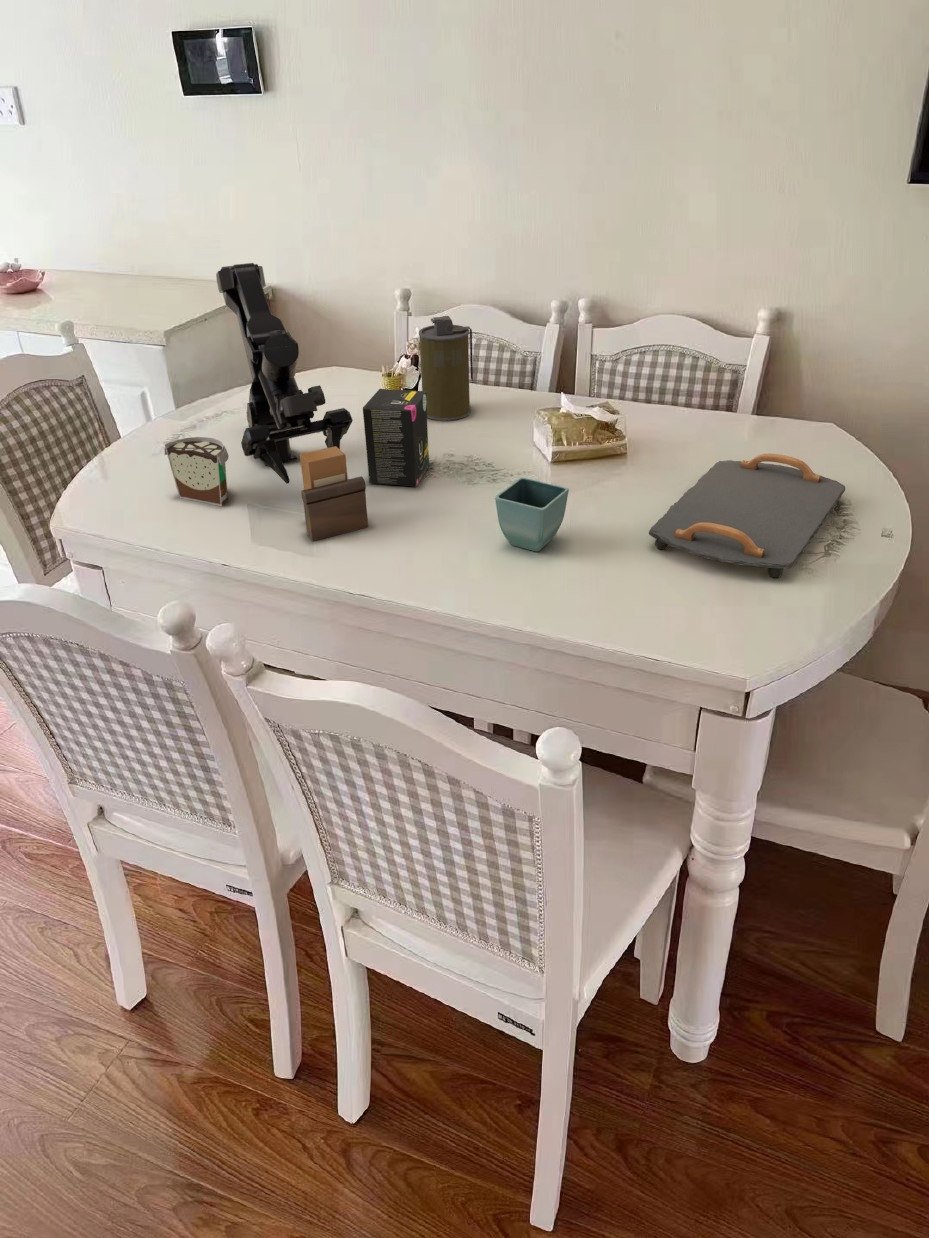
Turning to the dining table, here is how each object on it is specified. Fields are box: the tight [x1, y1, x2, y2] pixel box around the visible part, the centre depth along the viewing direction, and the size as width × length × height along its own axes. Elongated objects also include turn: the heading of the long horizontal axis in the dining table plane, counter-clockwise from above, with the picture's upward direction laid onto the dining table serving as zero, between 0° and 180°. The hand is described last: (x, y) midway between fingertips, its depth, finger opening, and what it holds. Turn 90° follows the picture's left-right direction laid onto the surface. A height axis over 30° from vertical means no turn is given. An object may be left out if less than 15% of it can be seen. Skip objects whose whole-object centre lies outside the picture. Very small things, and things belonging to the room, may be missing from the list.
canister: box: [418, 315, 474, 422], centre depth 201 cm, size 11×10×20 cm
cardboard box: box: [299, 446, 348, 490], centre depth 160 cm, size 4×6×12 cm, turn 119°
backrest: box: [300, 476, 369, 542], centre depth 158 cm, size 2×10×9 cm, turn 119°
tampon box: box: [362, 388, 430, 487], centre depth 176 cm, size 11×9×15 cm
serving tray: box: [648, 453, 846, 580], centre depth 158 cm, size 39×23×6 cm, turn 148°
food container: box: [163, 436, 230, 507], centre depth 171 cm, size 12×6×10 cm, turn 65°
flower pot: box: [494, 477, 570, 552], centre depth 153 cm, size 9×9×9 cm
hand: (313, 476), depth 164 cm, fingers open, 9 cm apart
